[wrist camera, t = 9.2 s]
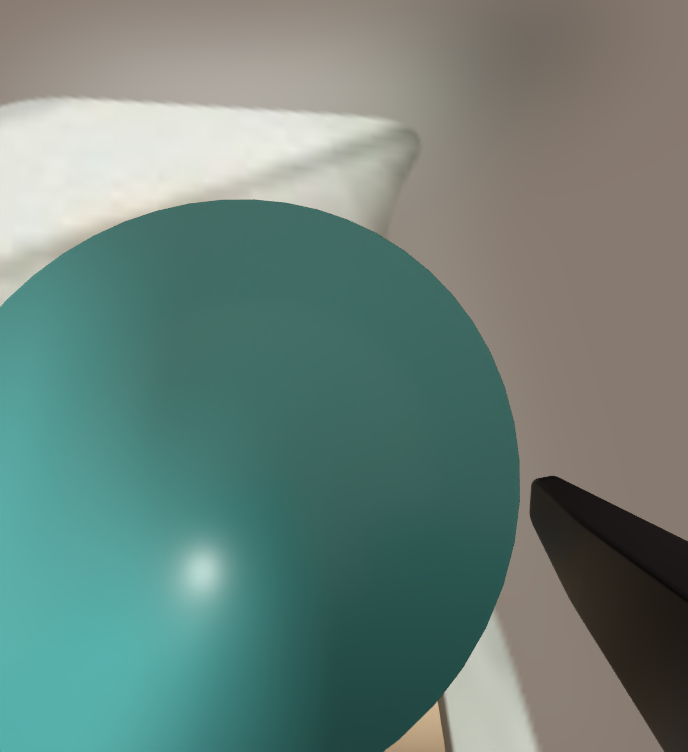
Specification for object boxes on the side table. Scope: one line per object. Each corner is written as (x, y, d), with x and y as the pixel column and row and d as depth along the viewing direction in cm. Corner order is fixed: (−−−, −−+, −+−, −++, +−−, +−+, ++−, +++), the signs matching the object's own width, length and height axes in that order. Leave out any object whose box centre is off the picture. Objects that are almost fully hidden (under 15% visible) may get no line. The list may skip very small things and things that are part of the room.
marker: (346, 609, 15) (367, 995, 3) (223, 544, 15) (-238, 601, 3) (401, 479, 16) (592, 317, 4) (286, 424, 17) (136, 135, 4)
